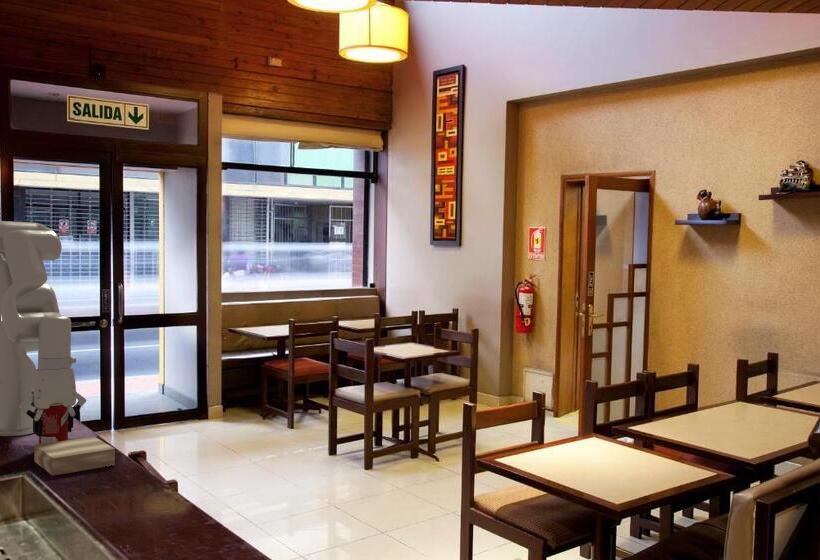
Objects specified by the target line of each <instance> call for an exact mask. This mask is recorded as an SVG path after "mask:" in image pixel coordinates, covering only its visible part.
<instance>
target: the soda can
mask: <svg viewBox="0 0 820 560" xmlns="http://www.w3.org/2000/svg"><path fill="white" fill-rule="evenodd" d="M63 404H64V403H62V404H54V405H49V406H50V407H49V408H48V409H45V410H44V411H43V413H42V415H41V417H40V420H41V421H42V435H41V436H38V444H45V443H52V442H59V441H66V440H69V432H68V408H67V407H65V406H64V405H63Z"/></svg>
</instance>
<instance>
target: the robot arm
mask: <svg viewBox="0 0 820 560" xmlns="http://www.w3.org/2000/svg"><path fill="white" fill-rule="evenodd" d="M62 251H63V250H62V242H61V239H60V237H59V236H58V234H57V233H56V232H55V230H53V229H51V228H49V227H47V226H46V225H43V224H42V223H39V222H30V221H29V222H28V221H27V222H26V221H10V220H9V221H7V220H6V221H5V220H0V316H1V321H0V437H19V436H25V435H30V434H34V435H36V436H37V437H39V436H41V435H42V421H41V420H40V417H41V415H42V413H43V411H44V410H45V409H48V408H49V407H50V406H49V405H54V404H62V403H64V404H63V405H64V406H65V407H67V408H68V433H72V431H73V430H72V429H73V428H74V422H75V421H74V418H75V416H76V414H77V413H79V411H80V410H81V408H82V407H83V406H84V405H85V404H86V402H87V399H86V398H85V397H84V396H82V395H81V394H80V393H79V392H77V387H76V378H75V377H76V376H75V372H74V368H73V367H72V365H73V364H76V363H77V358H76V357H72V356H71V355H72V354H71V353H72V352H71V351H72V350H71V349H72V320H71V318H70V317H69V316H67V315H62V314H61V313H60V307H59V303H58V300H57V299H58V298H57V296H56V295H57V294H56V292H55V290H54V289H53V287H51V285H50V284H47V281H48V274H47V271H46V267H45V263H44V261H56V260H58V259H59V258H60V257H61V254H62ZM31 352H37V368H36V365H35V362H34V361H33V360H32V359H31V358H30V357H29V355H28V354H27V353H31Z"/></svg>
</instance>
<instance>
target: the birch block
mask: <svg viewBox="0 0 820 560" xmlns="http://www.w3.org/2000/svg"><path fill="white" fill-rule="evenodd" d="M33 449H34V450H33V453H34V457H33V458H34V459H33V462H34V463H35V464H37V465H38V466H39V467H40V468H42V469H43V470H44V471H46V472H47V473H48V474H49V475H51V476H58V475H59V476H60V475H65V474H70V473H77V472H82V471H88V470H93V469H94V470H95V469H98V468H99V469H102V468H105V466H107V467H111V465H112V466H116V463H115V462H116V460H115V459H116V448H115V447H113V446H111V445H110V444H107V443H106V442H104V441H103V440H101V439H99V438H97V437H96V436H88V437H82V438H75V439H68V440H66V441H59V442H52V443H45V444H39V443H38V444H34V447H33Z"/></svg>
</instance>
